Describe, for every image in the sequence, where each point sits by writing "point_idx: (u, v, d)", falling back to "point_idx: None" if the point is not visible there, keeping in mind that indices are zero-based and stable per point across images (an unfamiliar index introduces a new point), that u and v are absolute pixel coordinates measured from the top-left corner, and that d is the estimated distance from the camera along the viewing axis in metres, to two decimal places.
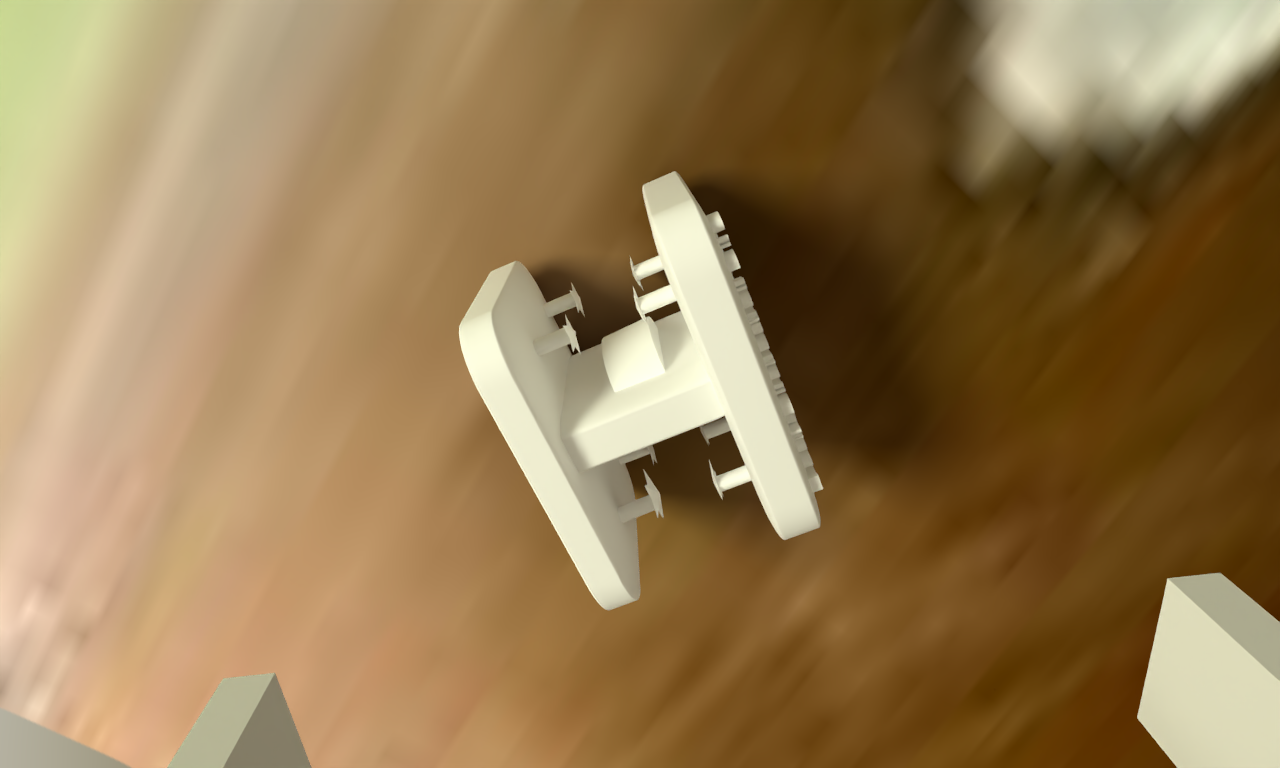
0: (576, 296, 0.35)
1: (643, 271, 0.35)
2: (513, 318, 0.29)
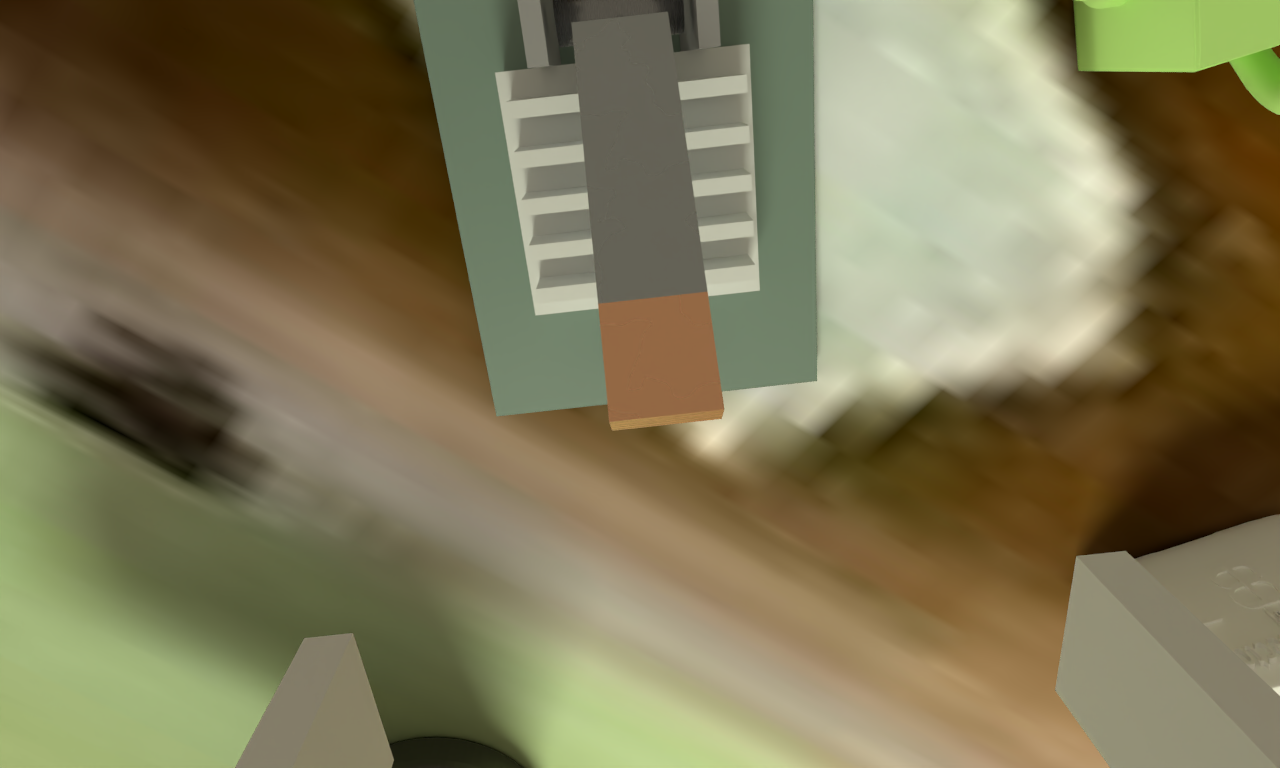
0: None
1: None
2: None
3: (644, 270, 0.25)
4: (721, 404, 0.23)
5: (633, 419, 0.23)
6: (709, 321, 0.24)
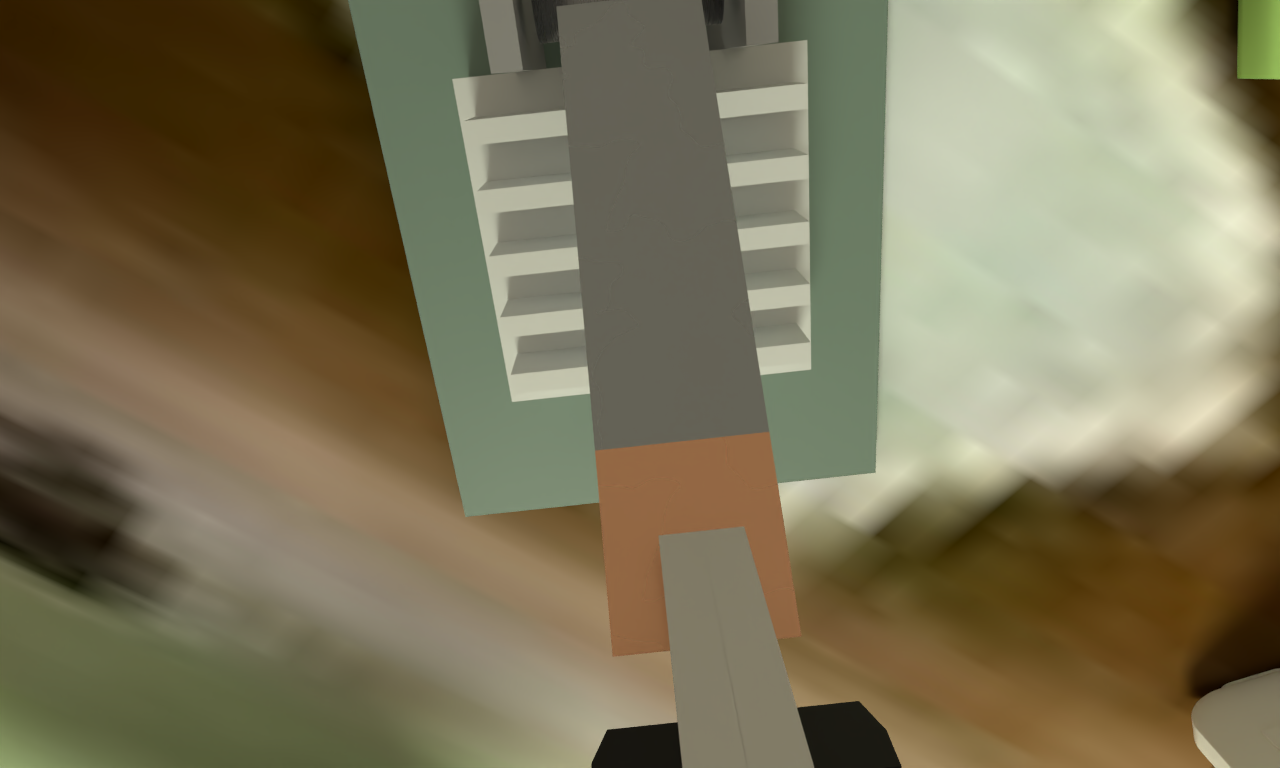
0: None
1: None
2: None
3: (668, 395, 0.16)
4: (796, 628, 0.14)
5: None
6: (773, 482, 0.15)
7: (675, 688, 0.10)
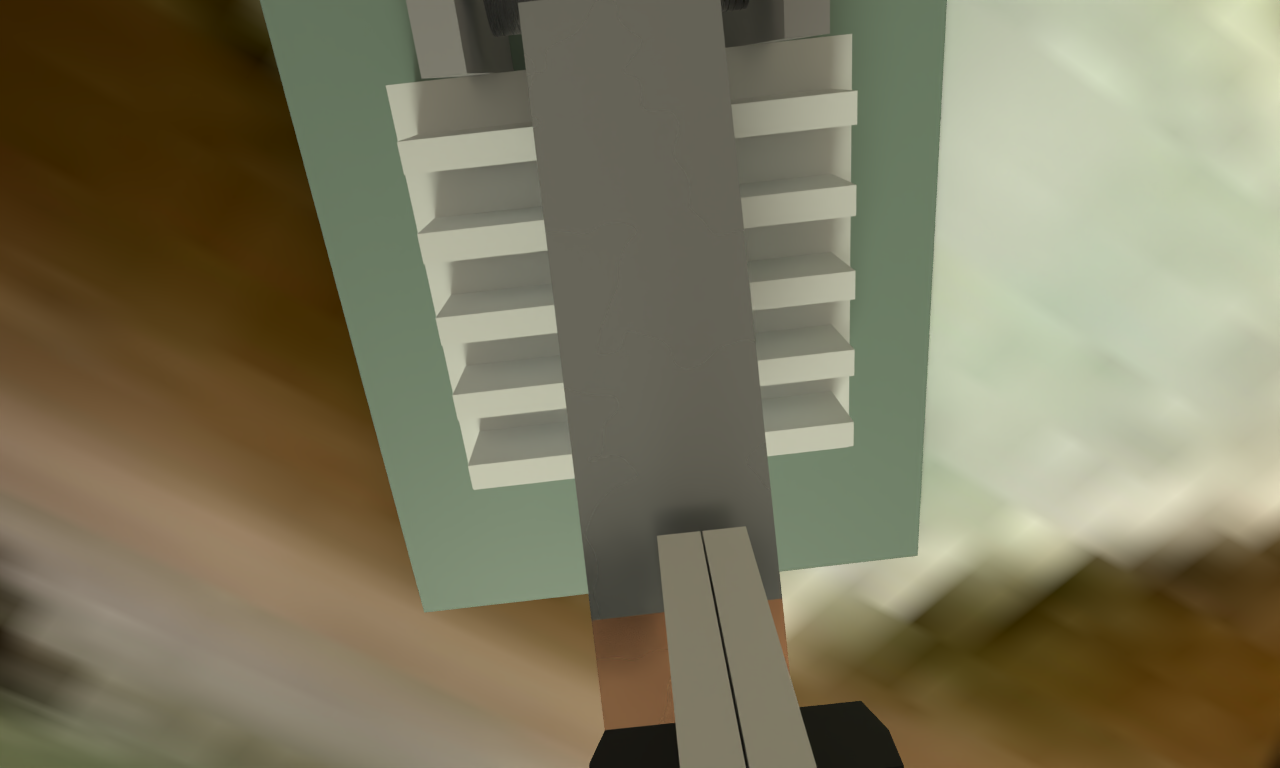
0: None
1: None
2: None
3: None
4: None
5: None
6: (783, 653, 0.14)
7: (673, 688, 0.10)
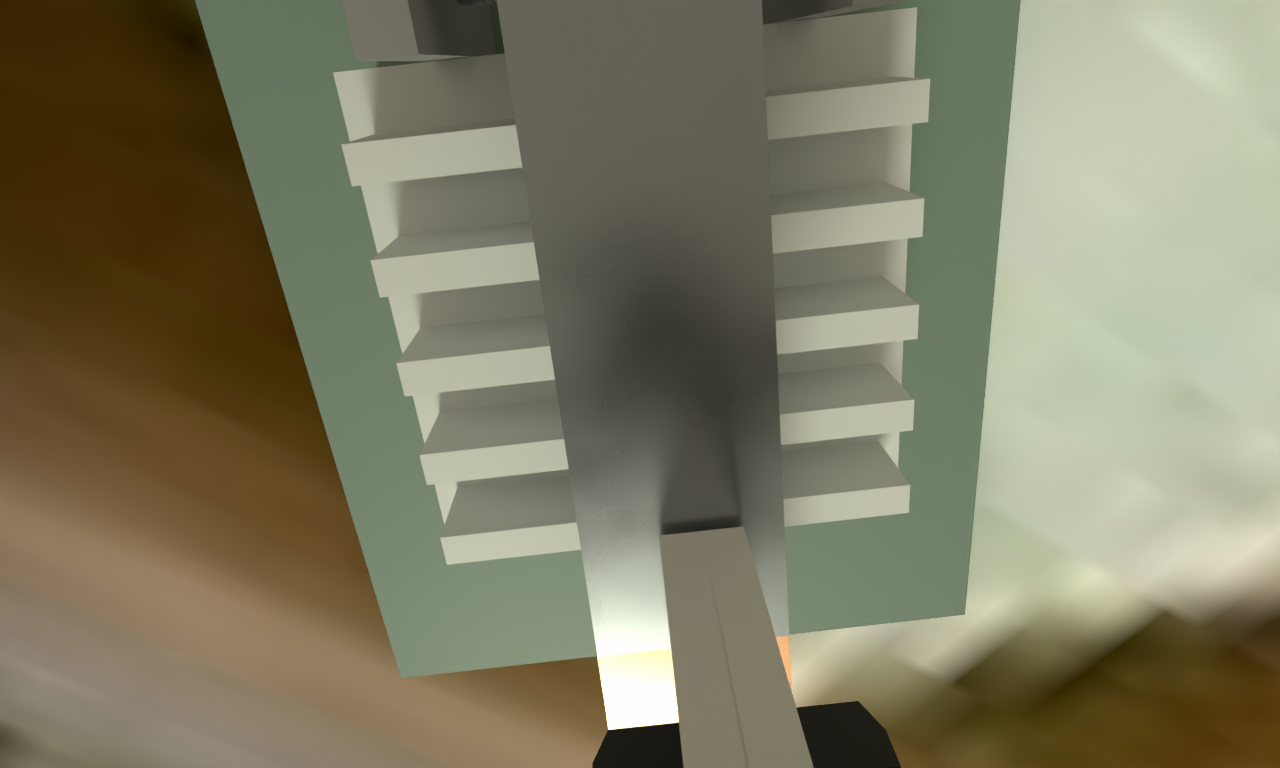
0: None
1: None
2: None
3: None
4: None
5: None
6: None
7: (676, 688, 0.10)
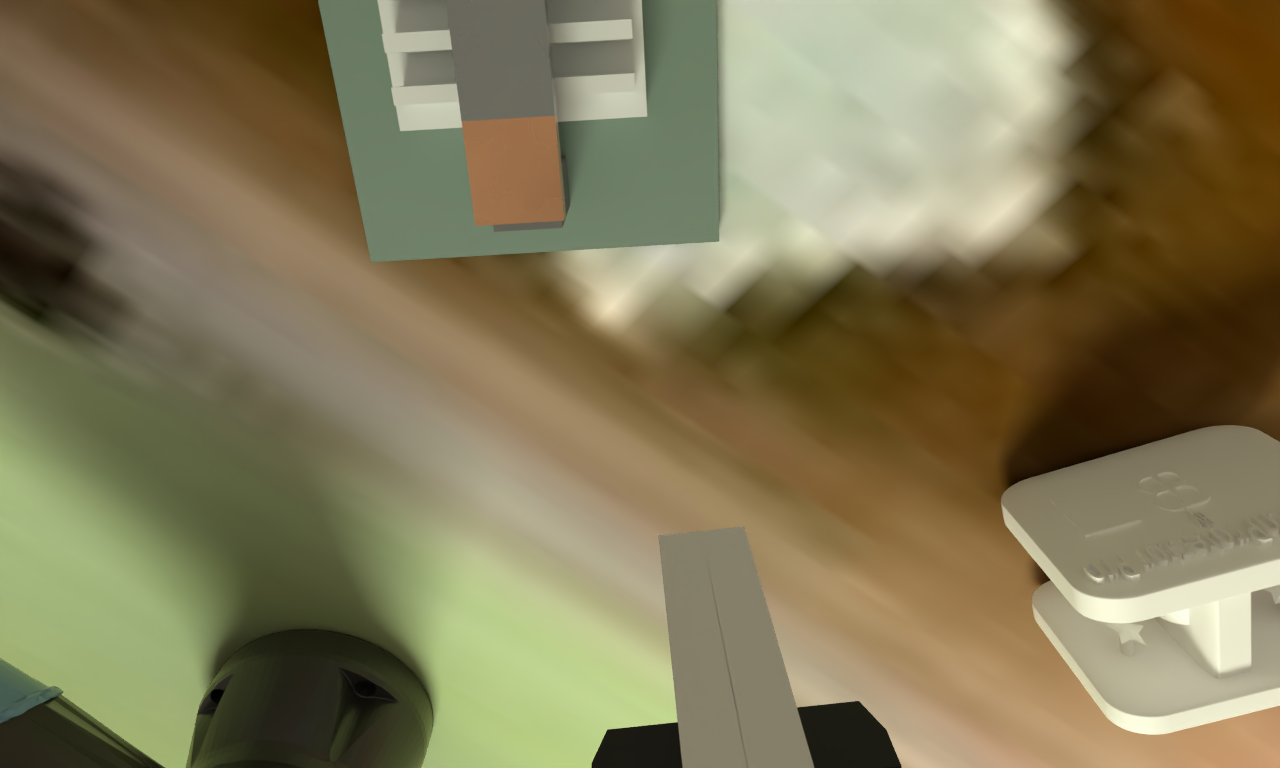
0: None
1: None
2: (1106, 673, 0.42)
3: (500, 91, 0.28)
4: (562, 216, 0.30)
5: (494, 224, 0.30)
6: (555, 144, 0.29)
7: (675, 688, 0.10)
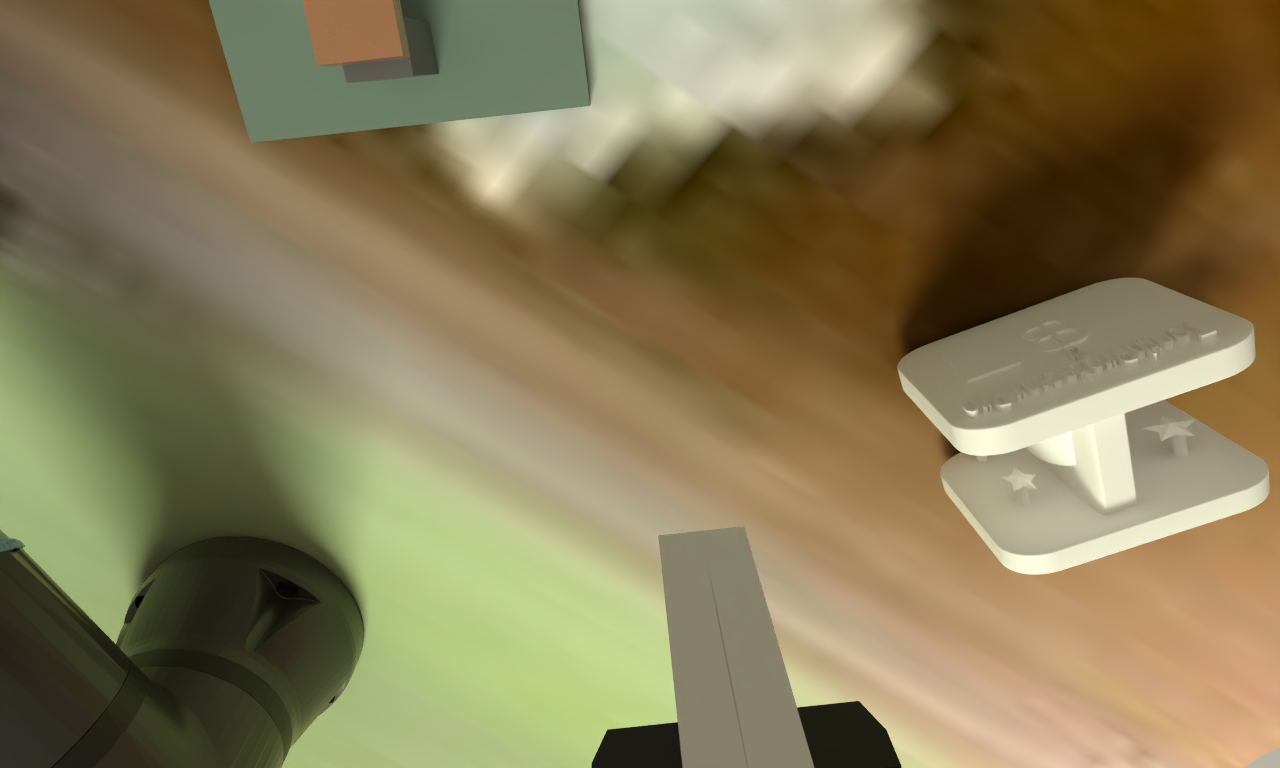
0: None
1: None
2: (1002, 523, 0.42)
3: None
4: (400, 51, 0.31)
5: (335, 63, 0.31)
6: None
7: (675, 688, 0.10)
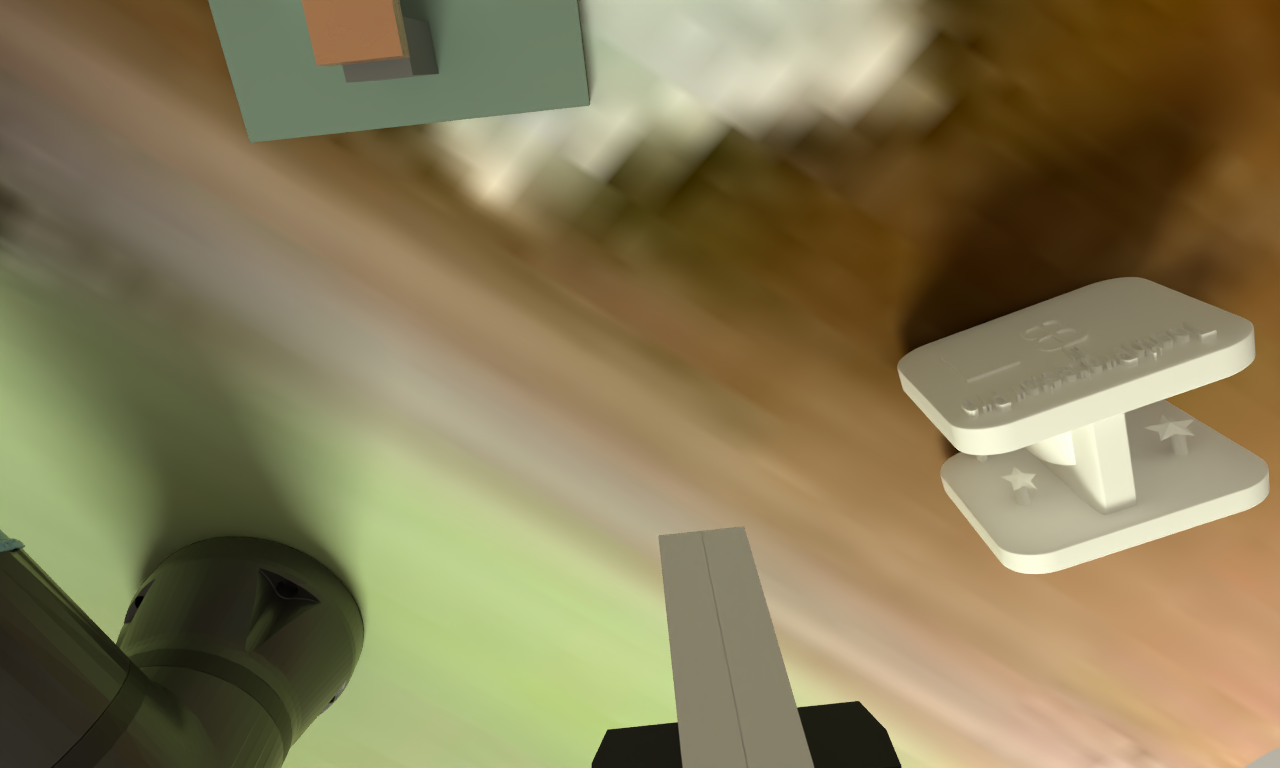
0: None
1: None
2: (1001, 522, 0.42)
3: None
4: (400, 51, 0.31)
5: (335, 63, 0.31)
6: None
7: (675, 688, 0.10)
